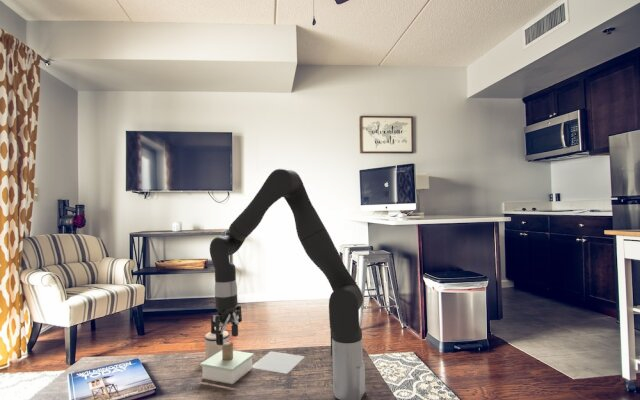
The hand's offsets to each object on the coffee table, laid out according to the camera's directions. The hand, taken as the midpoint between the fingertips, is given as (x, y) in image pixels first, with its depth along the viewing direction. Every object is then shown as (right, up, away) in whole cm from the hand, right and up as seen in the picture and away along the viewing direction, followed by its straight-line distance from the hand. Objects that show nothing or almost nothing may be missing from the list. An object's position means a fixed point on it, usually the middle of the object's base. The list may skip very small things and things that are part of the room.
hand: (227, 340), depth 129 cm
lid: (0, -7, 0) cm, 7 cm away
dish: (0, -12, 0) cm, 12 cm away
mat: (+17, -12, +9) cm, 22 cm away
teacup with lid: (-7, -13, +16) cm, 22 cm away
